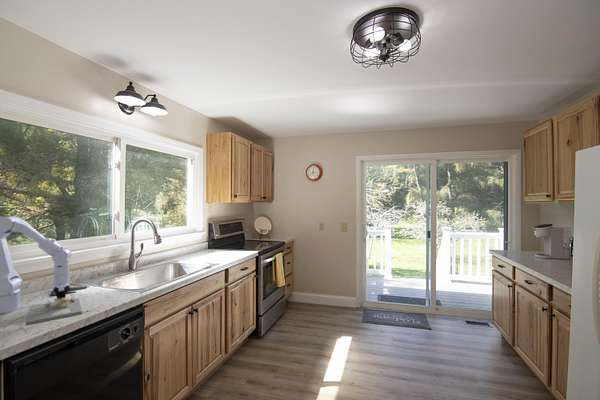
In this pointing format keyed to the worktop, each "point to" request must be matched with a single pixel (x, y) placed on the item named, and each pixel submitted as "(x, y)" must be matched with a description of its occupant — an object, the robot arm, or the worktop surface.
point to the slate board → (45, 310)
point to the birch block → (60, 302)
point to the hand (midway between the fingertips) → (61, 302)
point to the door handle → (69, 290)
